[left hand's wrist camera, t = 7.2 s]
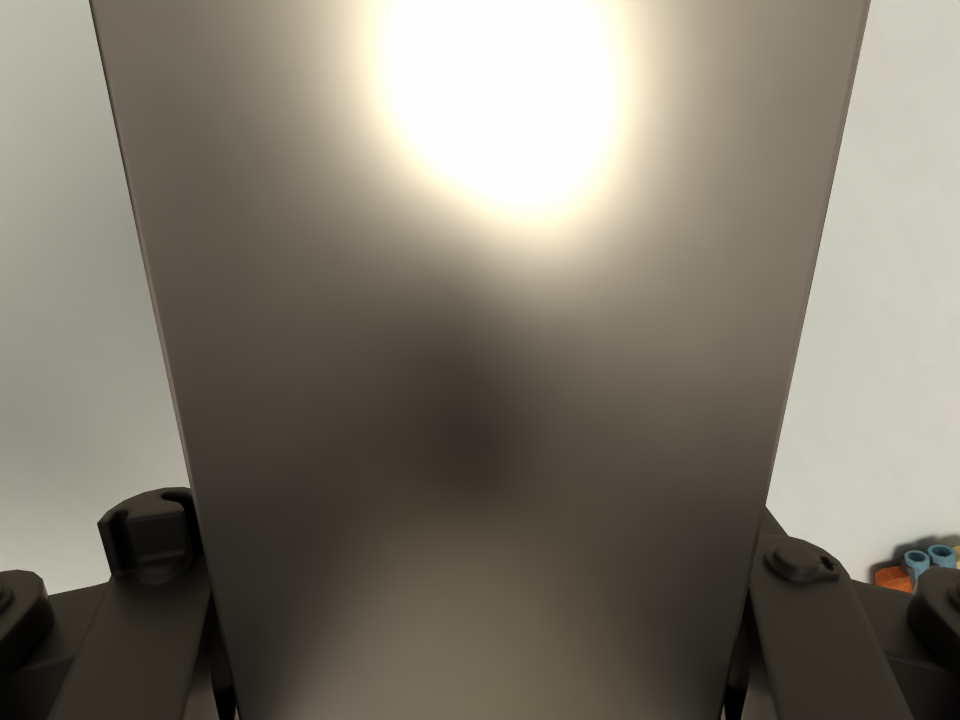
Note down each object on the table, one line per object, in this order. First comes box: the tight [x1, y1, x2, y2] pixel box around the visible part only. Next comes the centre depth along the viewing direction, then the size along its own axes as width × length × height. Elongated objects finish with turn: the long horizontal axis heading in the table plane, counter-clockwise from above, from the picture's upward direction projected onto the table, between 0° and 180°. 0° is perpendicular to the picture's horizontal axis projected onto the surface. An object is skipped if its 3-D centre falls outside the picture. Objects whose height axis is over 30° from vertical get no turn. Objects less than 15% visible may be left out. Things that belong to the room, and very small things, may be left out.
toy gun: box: [875, 544, 960, 593], centre depth 29 cm, size 3×19×10 cm
